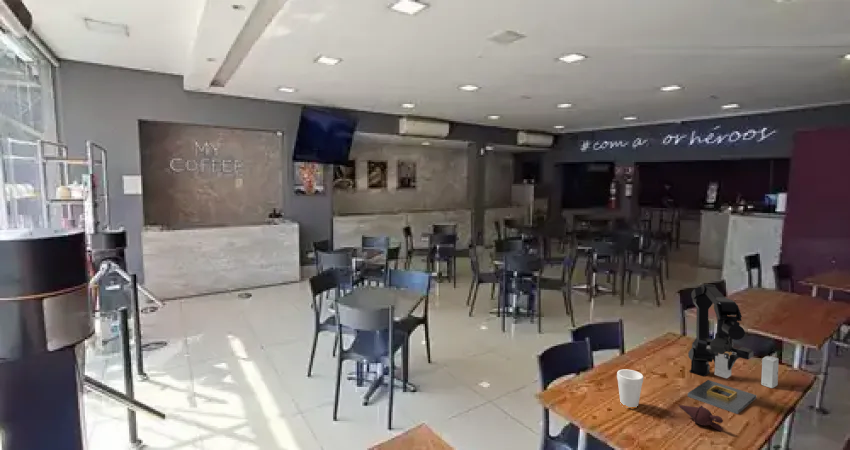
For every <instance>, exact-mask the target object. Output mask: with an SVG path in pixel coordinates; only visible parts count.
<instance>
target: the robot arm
mask: <svg viewBox="0 0 850 450" xmlns="http://www.w3.org/2000/svg"><path fill="white" fill-rule="evenodd" d="M691 299H692V303H693V305H694V306H695V307H696V321H695V323H696V327H695V328H696V331H695V332H696V333H695V335H696V336H695V337H696V338H695V339H694V340H693V342H692V343H691V347H690V349H689V351H688V353H687V354H688V355H687V356H688V358H689V359H690V362H691V364H690V370H689V372H690V373H693V374H696V375H698V376H702V377H705V376H707V375H709V374H710V373H711V372H710V369H711V368H710V367H711V366H710V364H709V363H714V364H715V356H716V355H718V354H724V353H731V354H729V357H730V362H729V370H731V369H732V368H733V367H734V365H735V363H736V362H737V360H738V359H744V360H750V359H751V358H753V357H754V350H753V349H751V348H748V347H743V346H741V347H740V348H737V347H734V341H735V340H736V341H737V340H739V341H740V340H741V339H743V338H744V337H745V335H746V331H745V329H744V328H743V327H742V326H741V325H740V322H742V320H743V319H742V317H743V316H742V313H741V310H740V308H739V306H738V303H737V302H736V301H734V300H733V299H730V298H727V297H726V296H724V295H723V293H722V292H721V291H719V289H718V287H717V285H715V284H702V285H701V286H699V287H696V288H694V289H693V290H692V291H691ZM712 306H713V310H714V312H715V315H716V316H715V317H716V318H717V319H716V332H715V335H714V338H713V339H711V338H709V310H710V308H711V307H712ZM731 371H732V370H731Z"/></svg>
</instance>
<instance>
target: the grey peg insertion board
mask: <svg viewBox="0 0 850 450" xmlns="http://www.w3.org/2000/svg"><path fill="white" fill-rule="evenodd" d="M687 397H688V398H690V399H694V400H696V401H699V402H702V403H705V404H707V405H710V406H713V407H715V408H718V409H722V410H724V411H728V412H730V413H733V414H736V415H739V413H741V412H742V411H743V410H744V409H747V407H748V406H750V405H751V404H752V403H754V402H755V400H757V394H754V393H751V392H747V391H744V390H741V389H738V388H735V387H732V386H728V385H726V384H723V383H719V382H715V381H712V380H710V379H707V380H705V381H704V382H703V383H701V384H700V385H698V386H697V387H695V388H693V389H692V390H690V391H688V392H687Z"/></svg>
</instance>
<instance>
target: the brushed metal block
mask: <svg viewBox="0 0 850 450" xmlns="http://www.w3.org/2000/svg"><path fill="white" fill-rule="evenodd" d="M729 356H730V352H725V353H724V354H718V355H716V356H715V363H714V376H718V377H721V378H724V379H728V378H730V377H732V369H731V370H729V362H730V357H729Z"/></svg>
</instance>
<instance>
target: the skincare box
mask: <svg viewBox="0 0 850 450" xmlns="http://www.w3.org/2000/svg"><path fill="white" fill-rule="evenodd" d="M779 360H780V359H779V358H778V357H776V356H775V357H774V356H770V355H766V356H764V357H763V358H762V359H761V381H760V384H761V385H762V386H764V387H767V388H770V389H773V388H775V387H777V386H778V383H779V381H778V380H779Z"/></svg>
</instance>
